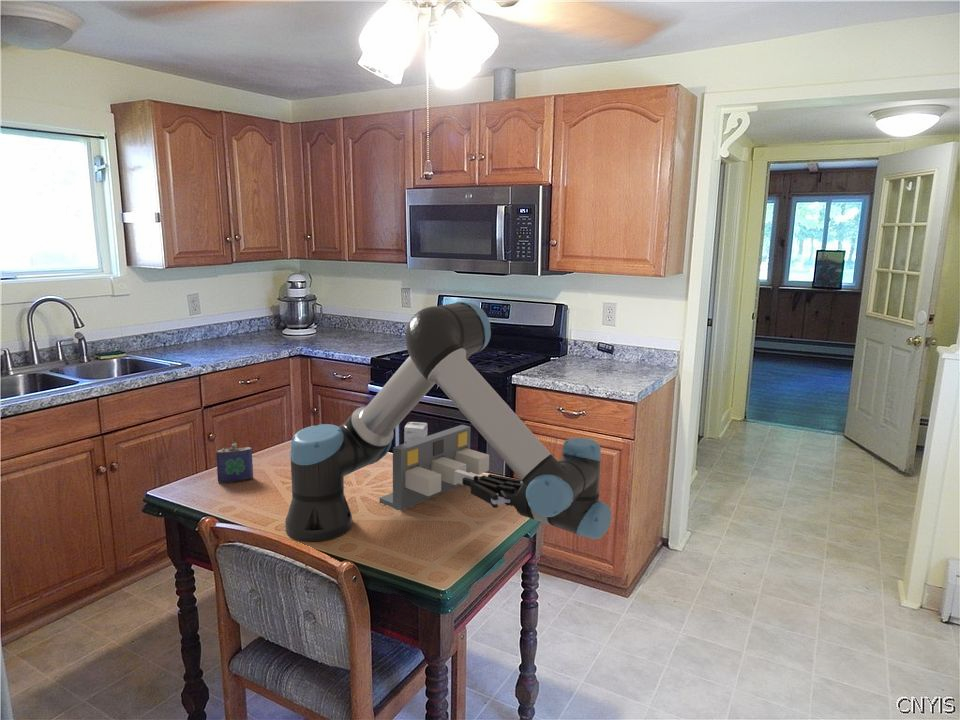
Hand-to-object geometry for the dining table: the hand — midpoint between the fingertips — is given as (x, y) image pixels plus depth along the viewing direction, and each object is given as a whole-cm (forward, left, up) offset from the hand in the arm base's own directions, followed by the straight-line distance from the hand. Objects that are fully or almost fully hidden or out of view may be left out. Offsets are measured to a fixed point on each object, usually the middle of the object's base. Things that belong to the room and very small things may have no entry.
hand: (456, 475), depth 150 cm
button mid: (+9, +12, -6) cm, 17 cm away
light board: (+9, +19, -12) cm, 24 cm away
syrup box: (+17, +31, -13) cm, 38 cm away
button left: (0, +12, -6) cm, 14 cm away
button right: (+19, +12, -6) cm, 23 cm away
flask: (-21, +63, -13) cm, 67 cm away
